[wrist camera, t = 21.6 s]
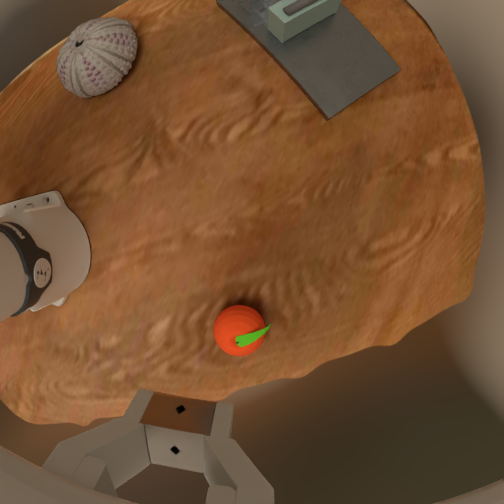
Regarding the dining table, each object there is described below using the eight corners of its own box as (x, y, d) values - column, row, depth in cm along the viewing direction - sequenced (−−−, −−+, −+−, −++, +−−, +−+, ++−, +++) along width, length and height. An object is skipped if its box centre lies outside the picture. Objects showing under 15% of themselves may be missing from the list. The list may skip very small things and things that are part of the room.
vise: (397, 72, 36) (419, 55, 29) (326, 120, 39) (340, 108, 31) (290, -35, 33) (293, -62, 26) (217, 5, 35) (209, -22, 28)
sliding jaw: (336, 12, 33) (347, -14, 26) (281, 43, 35) (285, 18, 28) (322, -2, 33) (331, -28, 26) (267, 29, 34) (268, 3, 27)
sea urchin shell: (77, 115, 39) (47, 107, 31) (63, 51, 37) (36, 36, 29) (153, 74, 38) (132, 55, 30) (132, 10, 35) (112, -13, 28)
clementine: (262, 287, 44) (262, 307, 37) (279, 330, 45) (281, 354, 38) (209, 306, 45) (200, 328, 38) (228, 346, 46) (223, 372, 39)
